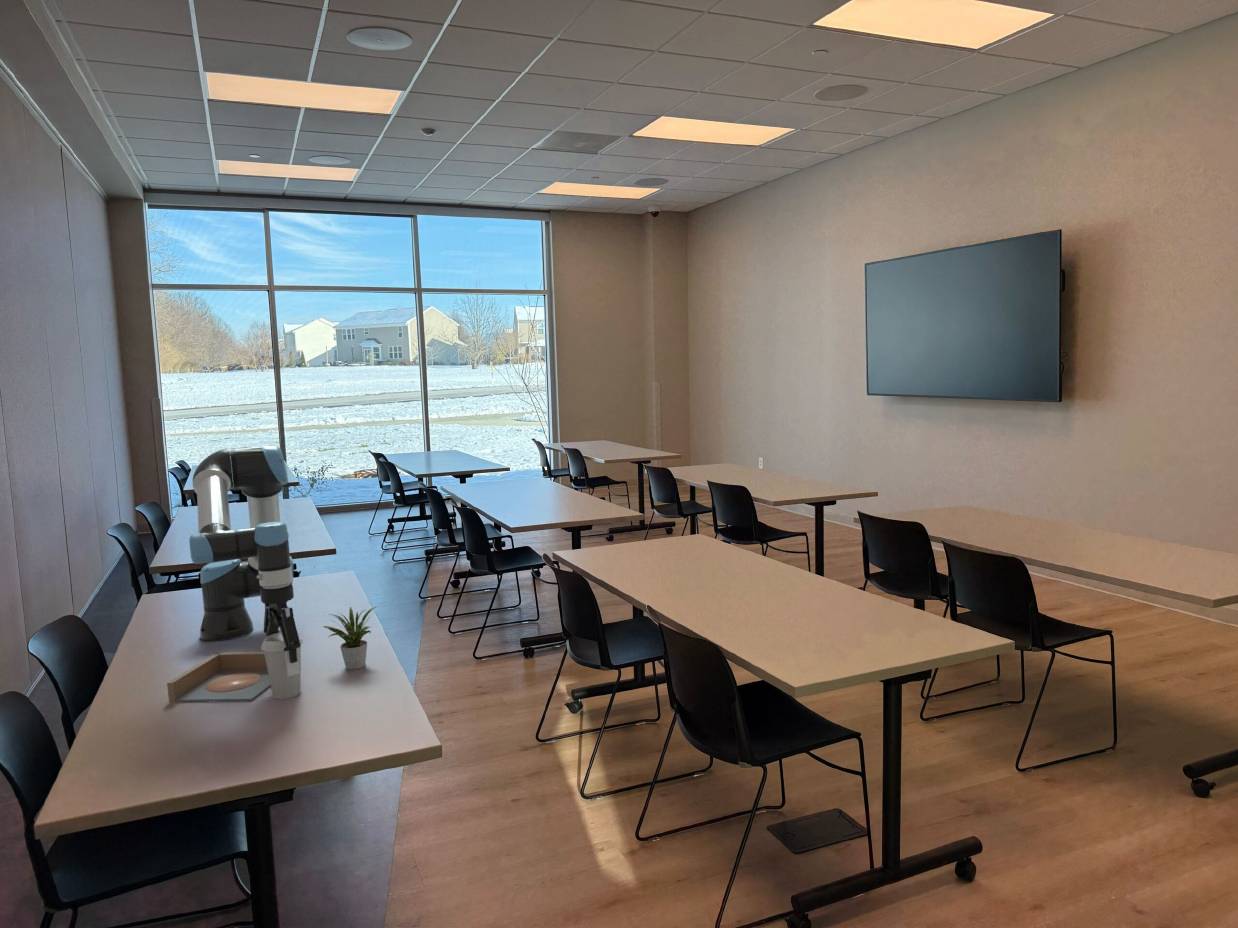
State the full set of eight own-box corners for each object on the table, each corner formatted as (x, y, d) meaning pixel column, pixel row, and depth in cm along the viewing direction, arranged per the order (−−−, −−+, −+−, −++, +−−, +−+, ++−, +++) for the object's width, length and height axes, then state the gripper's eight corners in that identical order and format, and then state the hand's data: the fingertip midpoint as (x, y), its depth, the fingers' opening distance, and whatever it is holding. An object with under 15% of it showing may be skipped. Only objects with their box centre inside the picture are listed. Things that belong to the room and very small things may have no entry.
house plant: (363, 652, 234) (359, 596, 232) (395, 660, 226) (390, 602, 224) (320, 668, 223) (315, 610, 221) (352, 677, 215) (346, 617, 213)
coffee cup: (266, 691, 207) (260, 634, 206) (306, 684, 211) (301, 628, 209) (266, 704, 199) (260, 645, 197) (307, 697, 202) (302, 638, 201)
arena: (218, 670, 225) (216, 652, 224) (293, 668, 223) (291, 651, 222) (169, 702, 203) (166, 682, 203) (251, 700, 201) (249, 681, 201)
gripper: (245, 580, 209) (253, 660, 211) (277, 596, 190) (285, 684, 192) (275, 574, 214) (283, 652, 216) (309, 590, 194) (317, 675, 197)
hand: (284, 668), depth 204 cm, fingers open, 13 cm apart
